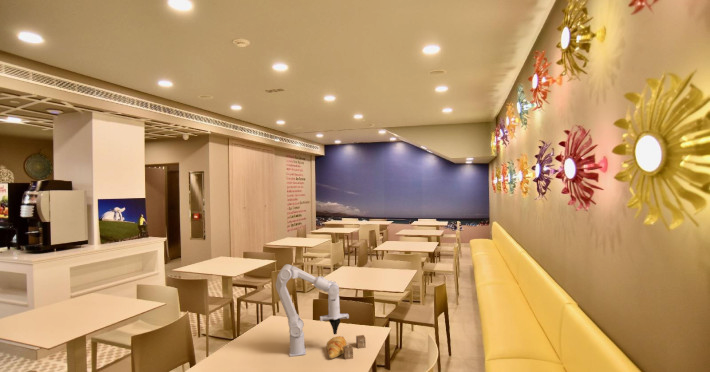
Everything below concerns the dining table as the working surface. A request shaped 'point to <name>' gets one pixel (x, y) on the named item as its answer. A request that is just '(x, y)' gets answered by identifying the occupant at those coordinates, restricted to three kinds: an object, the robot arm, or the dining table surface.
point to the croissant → (335, 346)
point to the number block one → (348, 352)
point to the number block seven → (360, 341)
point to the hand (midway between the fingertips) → (335, 333)
